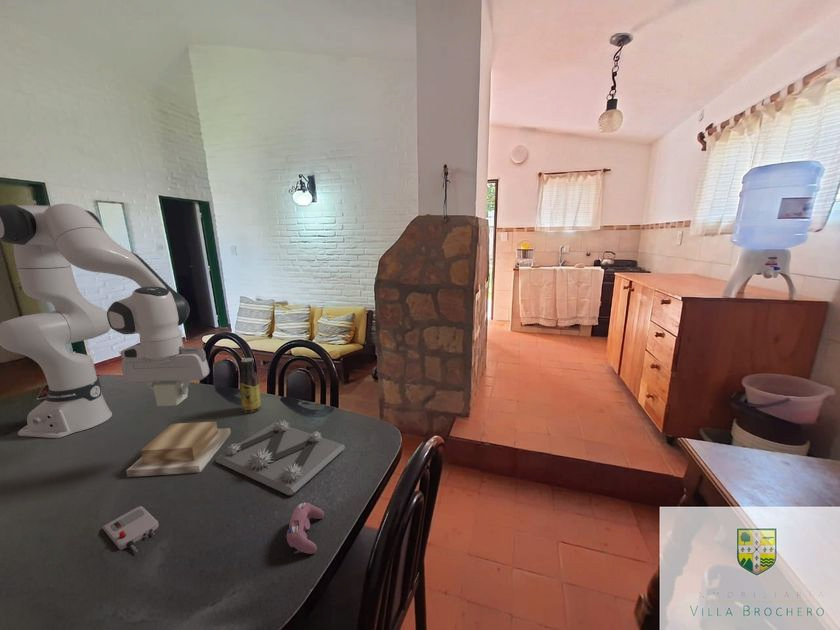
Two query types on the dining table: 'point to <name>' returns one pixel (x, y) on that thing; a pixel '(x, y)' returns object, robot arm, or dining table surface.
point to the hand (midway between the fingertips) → (171, 394)
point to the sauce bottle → (249, 387)
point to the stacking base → (183, 464)
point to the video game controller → (302, 527)
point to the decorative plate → (281, 456)
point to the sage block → (168, 393)
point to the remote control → (131, 528)
